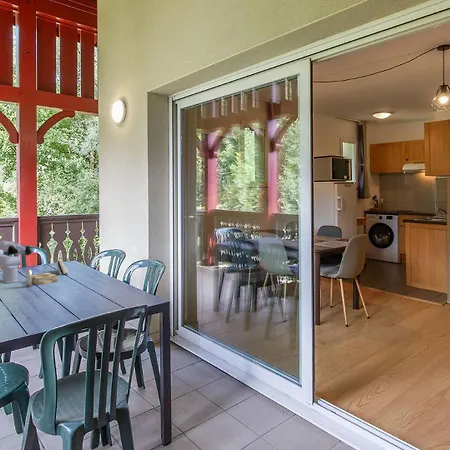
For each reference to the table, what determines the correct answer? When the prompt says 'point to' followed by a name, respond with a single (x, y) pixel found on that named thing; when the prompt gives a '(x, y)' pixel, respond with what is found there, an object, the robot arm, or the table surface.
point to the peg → (28, 278)
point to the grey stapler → (61, 267)
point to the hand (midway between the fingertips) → (24, 252)
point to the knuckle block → (44, 278)
